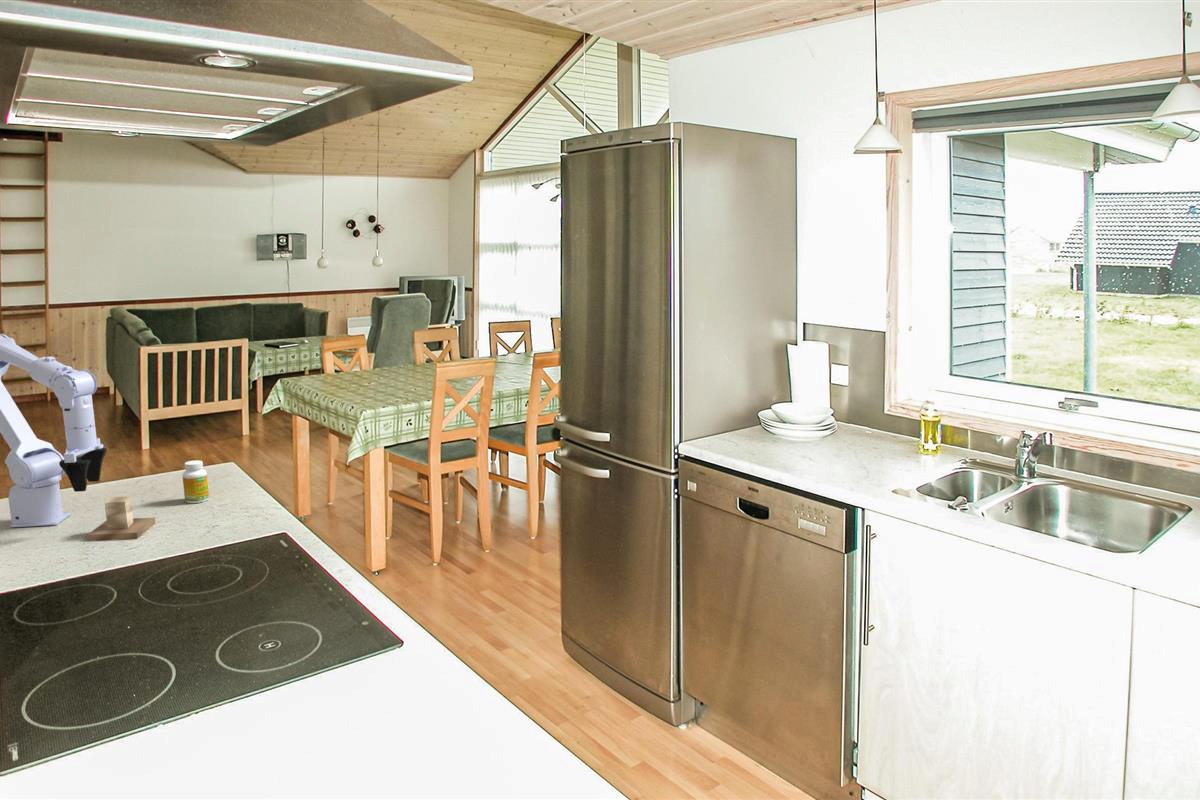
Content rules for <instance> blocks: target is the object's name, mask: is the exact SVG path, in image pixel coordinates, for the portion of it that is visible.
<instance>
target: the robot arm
mask: <svg viewBox="0 0 1200 800" xmlns="http://www.w3.org/2000/svg"><path fill="white" fill-rule="evenodd" d="M10 365H11V366H15V367H17V368H19V369H22V370H25V371H26V372H29V376H30V378H31V379H32V380H34V381H35V382H38V383H39V384H41V385H43V386H45V387H47V388H49V389H50V390H53V393H54V395H55V397H56V398H57V401H58V404H59V406H60V408H61V409H62V416H63V424H64V432H65V433H64V434H65V440H66V447H65V453H63V455H62V454H61V453H60V451H58V450H56V448H54V446H53V444H52V443H50V442H48V441H46V440H42V439H39V438H38V437H37V436H36V434H35V433H34V432H33V429H32V428H31V427H30V425H29V423H28V421H27V420H26V419H25V417H24V415H23V414H22V412H21V411H20V409H19V407H18V405H17V404H16V402H15V401H14V399H13V397H12V396H11V394H10V393H9V392H8V390H7V389H6V387H5V385H4V383H3V382H2V376H4V375H5V374H6V373H7V371H8V369H9V367H10ZM97 389H98V382H97V379H96V377H95V375H94V374H93V373H92V372H91V371H89V370H88V369H80V370H79V369H78V370H77V369H76V370H75V368H73V367H72V366H70V365H65V364H63V363H62V362H59V361H57V360H56V358H55V357H54V356H43V357H38V356H36V355H35V354H33V353H31V352H30V351H28V350H27V349H24V348H22V347H21V346H20V345H18V344H17V343H16V341H15V339H14V338H12V337H9V336H7V335H6V334H3V333H0V434H1V436H2V437H3V439H4V440H5V442H6V443H7V445H8V447H9V448H10V451H9V453H7V454H8V455H7V456H6V458H5V460H4V463H5V464H6V467H7V468H8V472H9V477H10V478H11V481H13V483H15V484H14V485H12V486H11V488H9V491H8V505H9V506H8V507H9V511H10V512H9V514H10V521H11V524H10V528H23V527H26V528H27V527H40V526H41V527H42V526H55V525H56V526H57V525H58V524H59V523H61V522H62V521H64V520H65V519H66V518H68V517H69V516H70V515H71V512H69V511H68V512H67V511H66V512H63V511H64V510H63V503H62V496H61V486H60V481H62V475H64V474H65V475H66V476H67V478H68V481H69V482H70V485H71V487H72V489H73V492H74V493H76V492H85V491H86V492H87V485H88V482H89V483H92V482H99V481H100V478H101V471H102V465H103V461H104V458H105V455H106V453H107V447H104V444H103V443H101V439H100V437H97V430H96V422H95V412H94V404H93V396H92V395H94V394H95V393H96V391H97Z"/></svg>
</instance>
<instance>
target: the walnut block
mask: <svg viewBox="0 0 1200 800" xmlns="http://www.w3.org/2000/svg"><path fill="white" fill-rule="evenodd" d="M155 525H156V517H137V518H135V517H133V523H132V524H131V525H130V526H129V527H128V528H122V529H108V527H107V520H105V521H104V522H102V523H101V524H100V525H98V526H97V527H96V528H95V529H93V530H92V531H91V532H89V533H88V534H87V535H86V536H87V537H86V538H87V541H88V540H96V541H112V540H111V539H121V540H138V539H139V538H140V537H141V536H143V535H144V534H145V533H147V531H149V530H150V529H151V528H152V527H153V526H155ZM150 527H151V528H150ZM149 528H150V529H149ZM143 533H144V534H143ZM142 534H143V535H142Z"/></svg>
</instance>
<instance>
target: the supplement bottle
mask: <svg viewBox="0 0 1200 800" xmlns="http://www.w3.org/2000/svg"><path fill="white" fill-rule="evenodd" d="M184 469H185V471H183V472H182V484H183V494H184V502H185V503H186V502H187V503H186V504H200V503H201V502H202V503H205V502H207V501H208V500H209V499H210V492H209V485H208V484H209V481H208V473H207V471H206V469H204V463H203V461H202V460H200V459H199V460H197V459H196V460H189V461H186V462H185V463H184Z"/></svg>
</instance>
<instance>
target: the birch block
mask: <svg viewBox="0 0 1200 800" xmlns="http://www.w3.org/2000/svg"><path fill="white" fill-rule="evenodd" d="M104 511H105V516H106V517H105V518H106V519H105V520H106V521H107V527H108V529H122V528H128V527H129V526H130V525H131V524H132V523H133V518H134V514H133V506H132V497H131V495H130V496H129V495H128V496H115V497H110V498H108V499H107V500H106V501H105V502H104Z"/></svg>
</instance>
